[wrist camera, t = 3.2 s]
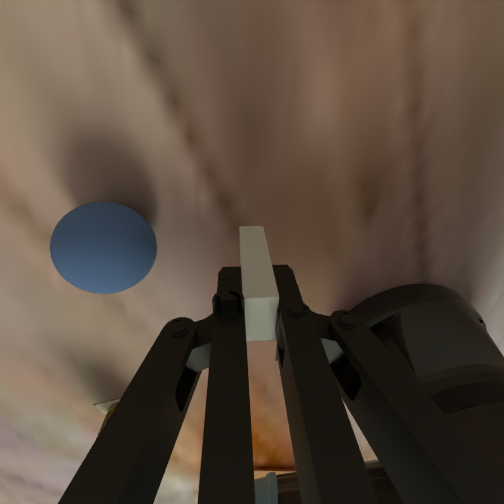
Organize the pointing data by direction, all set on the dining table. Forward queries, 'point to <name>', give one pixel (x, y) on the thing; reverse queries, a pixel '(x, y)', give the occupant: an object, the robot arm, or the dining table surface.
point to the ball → (103, 247)
